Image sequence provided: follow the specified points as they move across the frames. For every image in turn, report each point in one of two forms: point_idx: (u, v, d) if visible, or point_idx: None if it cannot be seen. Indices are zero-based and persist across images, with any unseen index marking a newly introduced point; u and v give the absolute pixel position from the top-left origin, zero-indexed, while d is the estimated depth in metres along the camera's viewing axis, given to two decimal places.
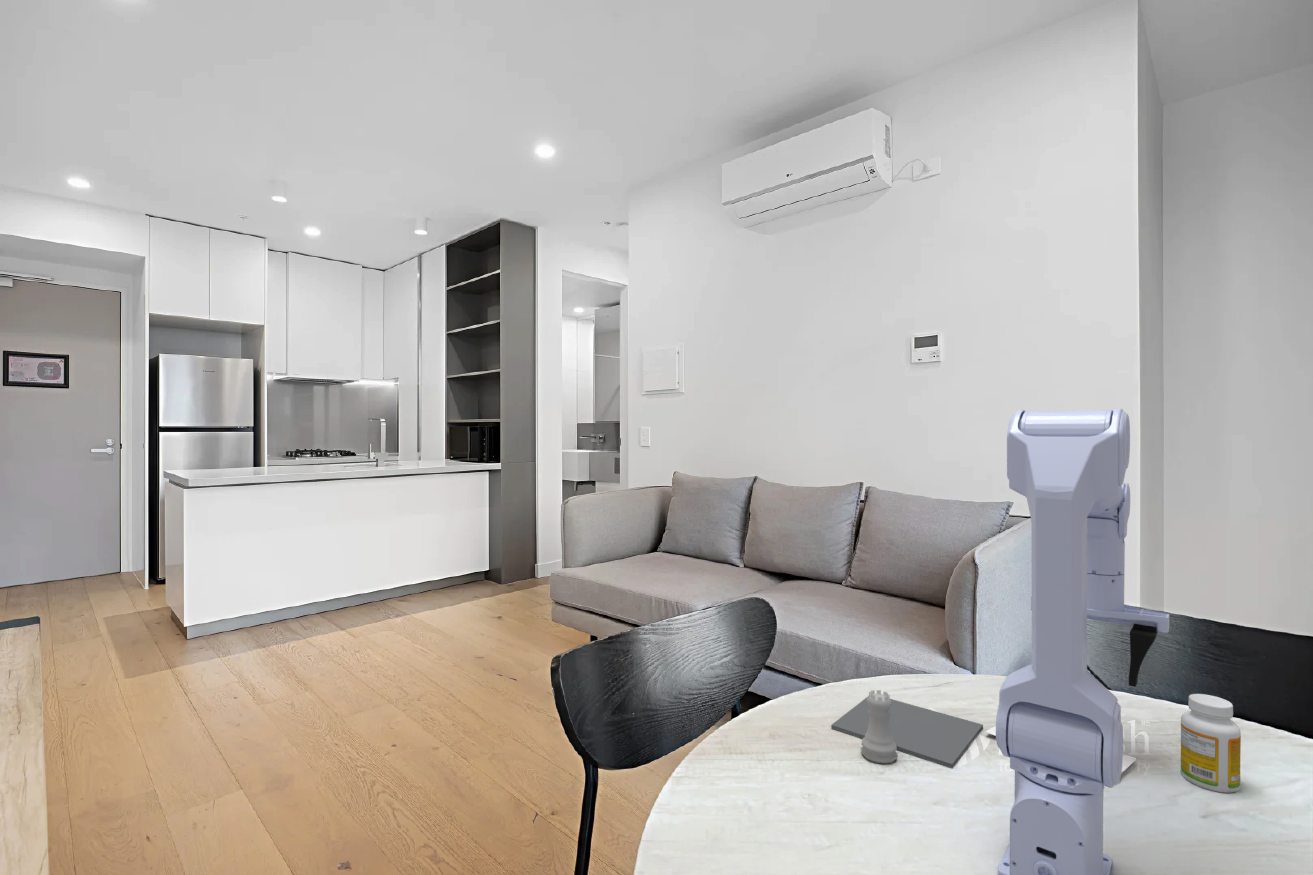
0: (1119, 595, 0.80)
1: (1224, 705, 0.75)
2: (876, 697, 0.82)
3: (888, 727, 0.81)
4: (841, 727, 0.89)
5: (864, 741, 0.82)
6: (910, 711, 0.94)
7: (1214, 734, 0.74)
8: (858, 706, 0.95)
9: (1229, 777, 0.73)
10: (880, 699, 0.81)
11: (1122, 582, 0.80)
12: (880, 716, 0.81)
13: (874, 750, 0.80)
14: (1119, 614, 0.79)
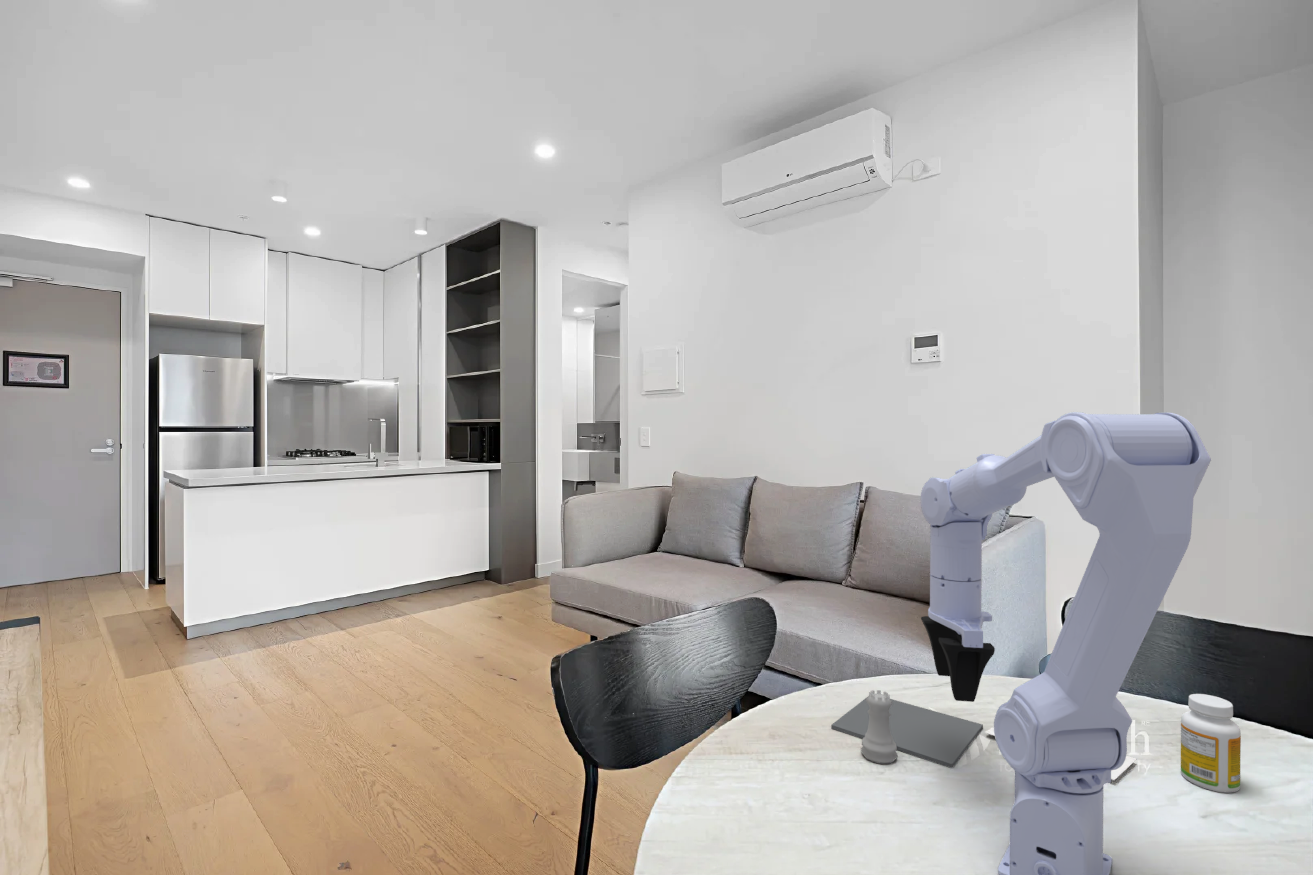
0: (949, 601, 0.76)
1: (1224, 705, 0.75)
2: (876, 697, 0.82)
3: (888, 727, 0.81)
4: (841, 727, 0.89)
5: (864, 741, 0.82)
6: (910, 711, 0.94)
7: (1214, 734, 0.74)
8: (858, 706, 0.95)
9: (1229, 777, 0.73)
10: (880, 699, 0.81)
11: (955, 589, 0.76)
12: (880, 716, 0.81)
13: (874, 750, 0.80)
14: (941, 619, 0.76)
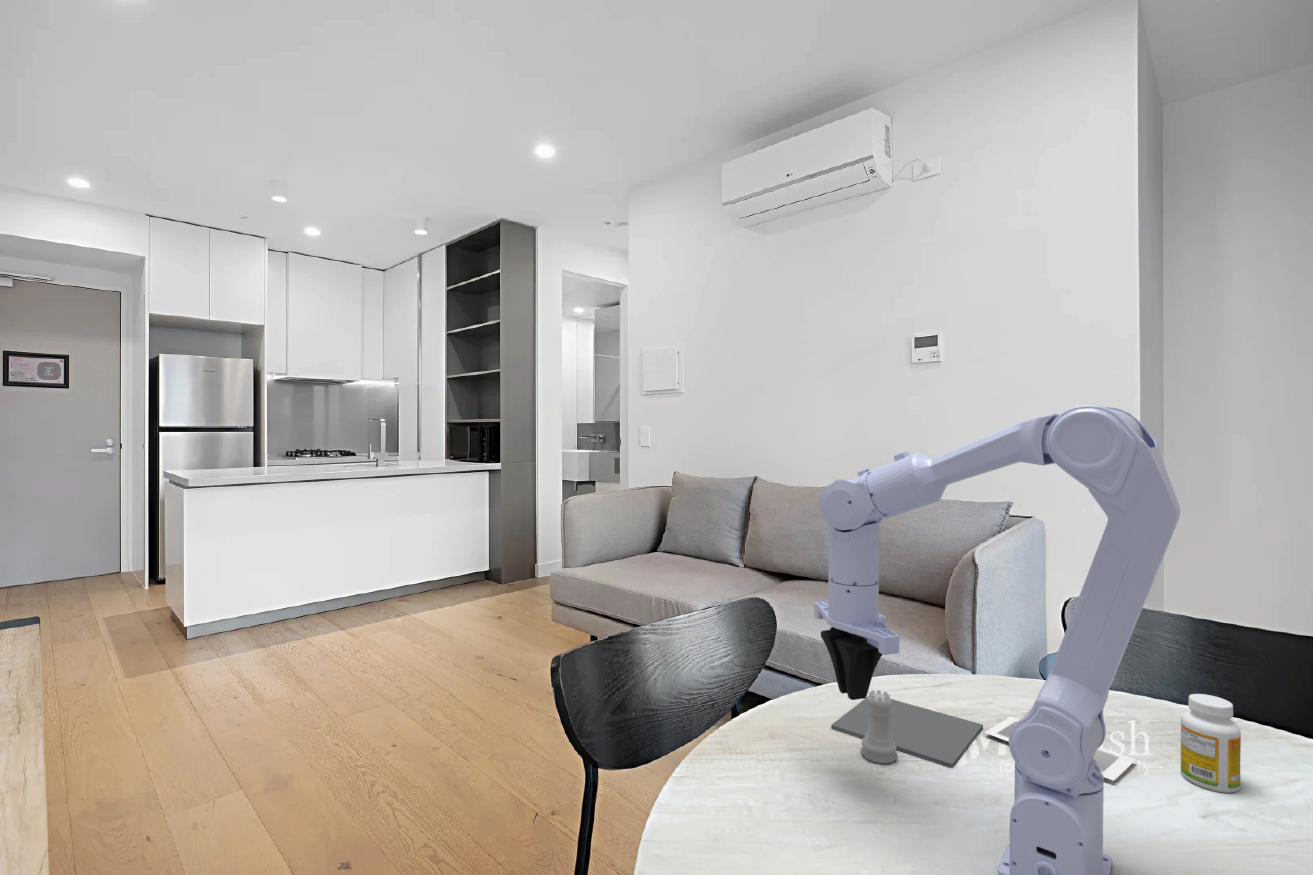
0: (856, 608, 0.73)
1: (1224, 705, 0.75)
2: (876, 697, 0.82)
3: (888, 727, 0.81)
4: (841, 727, 0.89)
5: (864, 741, 0.82)
6: (910, 711, 0.94)
7: (1214, 734, 0.74)
8: (858, 706, 0.95)
9: (1229, 777, 0.73)
10: (880, 699, 0.81)
11: (861, 594, 0.73)
12: (880, 716, 0.81)
13: (874, 750, 0.80)
14: (848, 627, 0.73)
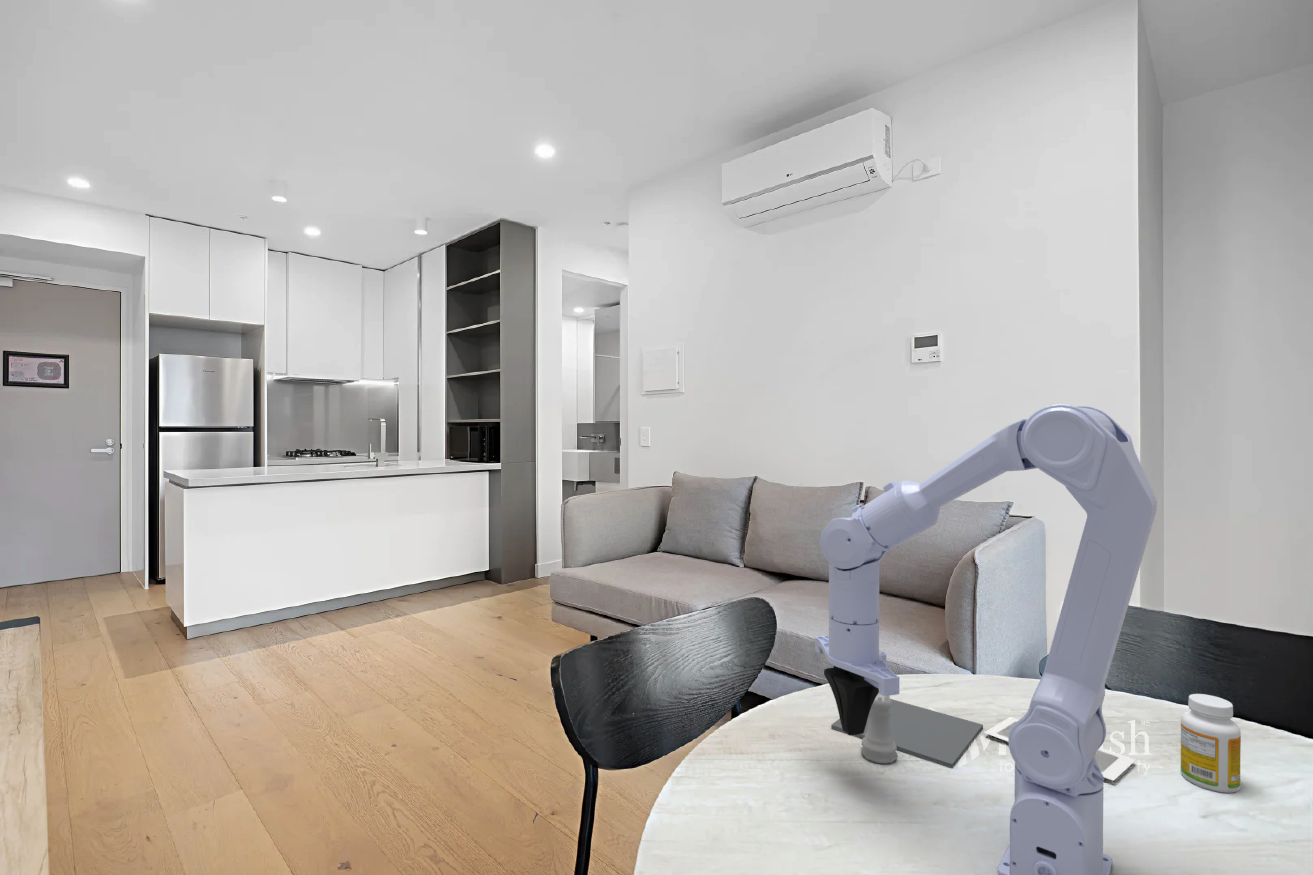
0: (856, 646, 0.73)
1: (1224, 705, 0.75)
2: (876, 697, 0.82)
3: (888, 727, 0.81)
4: (841, 727, 0.89)
5: (864, 741, 0.82)
6: (910, 711, 0.94)
7: (1214, 734, 0.74)
8: None
9: (1229, 777, 0.73)
10: (880, 699, 0.81)
11: (861, 633, 0.73)
12: (880, 716, 0.81)
13: (874, 750, 0.80)
14: (849, 666, 0.73)
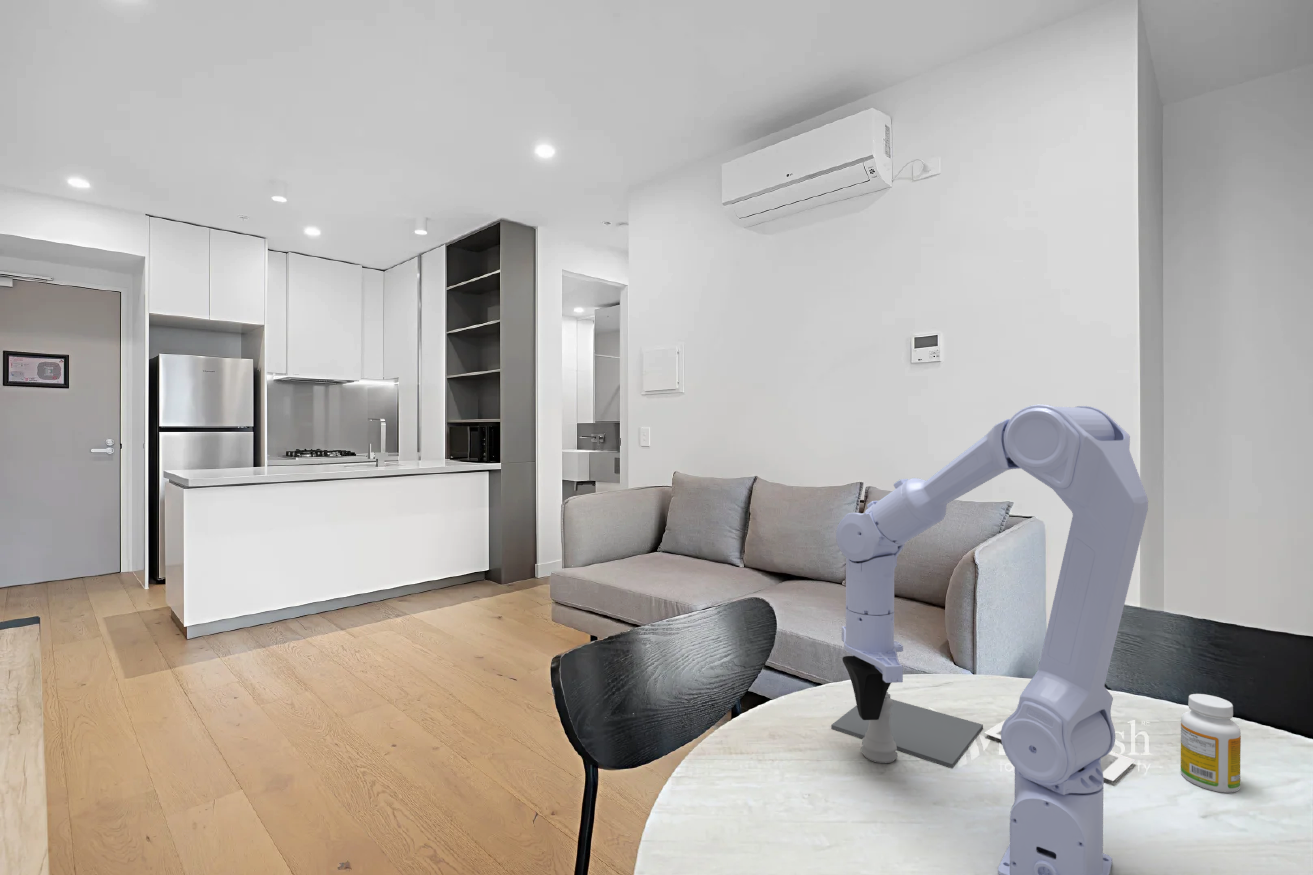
0: (867, 635, 0.77)
1: (1224, 705, 0.75)
2: None
3: (888, 727, 0.81)
4: (841, 727, 0.89)
5: (864, 740, 0.82)
6: (910, 711, 0.94)
7: (1214, 734, 0.74)
8: None
9: (1229, 777, 0.73)
10: None
11: (872, 623, 0.77)
12: (880, 716, 0.81)
13: (874, 749, 0.80)
14: (859, 653, 0.77)
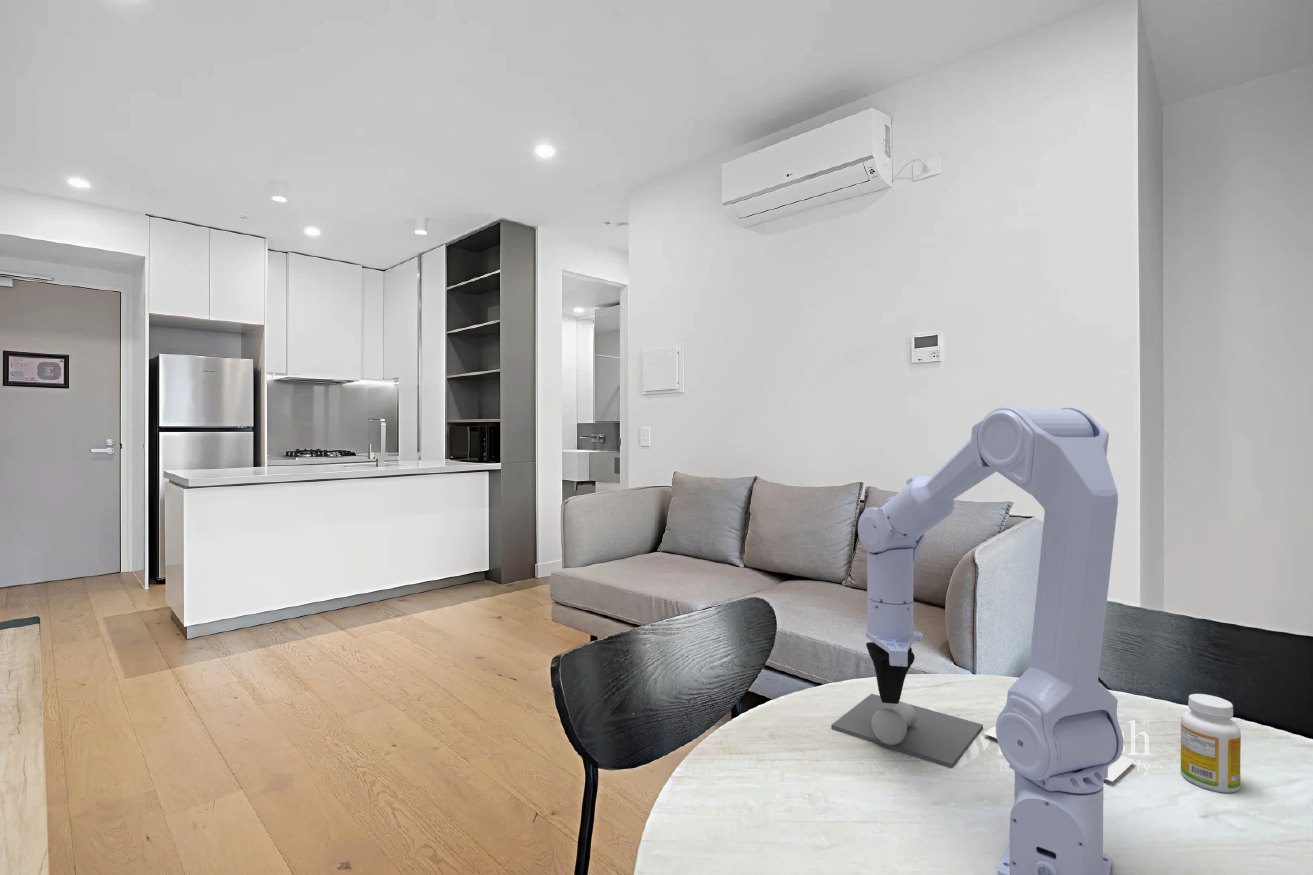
0: (882, 622, 0.82)
1: (1224, 705, 0.75)
2: None
3: (906, 722, 0.86)
4: (841, 727, 0.89)
5: None
6: None
7: (1214, 733, 0.74)
8: (858, 706, 0.95)
9: (1229, 777, 0.73)
10: None
11: (887, 611, 0.82)
12: (906, 709, 0.88)
13: (894, 709, 0.85)
14: (874, 639, 0.82)
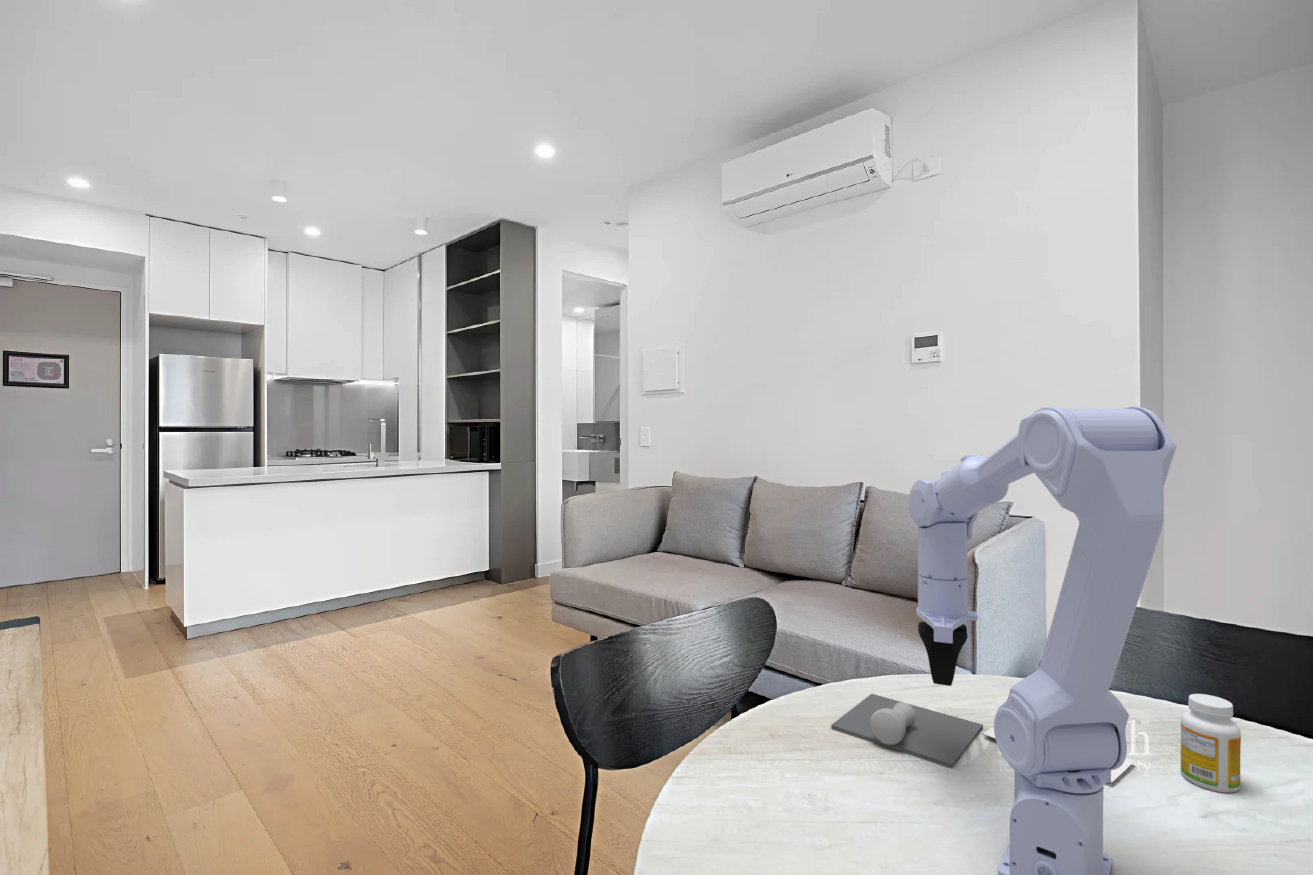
0: (931, 599, 0.79)
1: (1224, 705, 0.75)
2: None
3: (905, 721, 0.86)
4: (841, 727, 0.89)
5: None
6: None
7: (1214, 734, 0.74)
8: (858, 706, 0.95)
9: (1229, 777, 0.73)
10: (910, 706, 0.89)
11: (936, 587, 0.79)
12: (905, 709, 0.88)
13: (892, 709, 0.85)
14: (922, 615, 0.79)
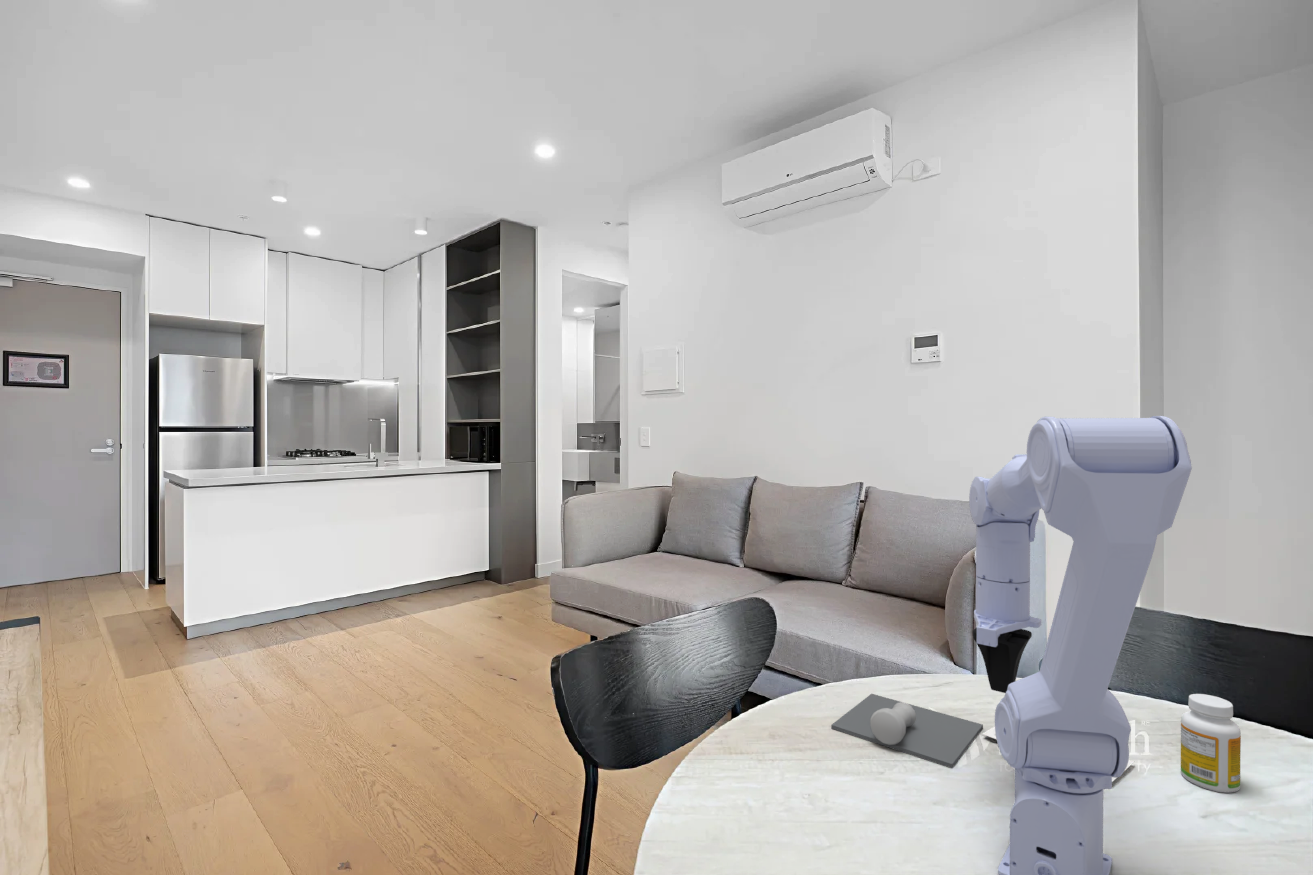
0: (985, 600, 0.76)
1: (1224, 705, 0.75)
2: None
3: (905, 721, 0.86)
4: (841, 727, 0.89)
5: None
6: None
7: (1214, 733, 0.74)
8: (858, 706, 0.95)
9: (1229, 777, 0.73)
10: (910, 706, 0.89)
11: (989, 589, 0.75)
12: (904, 709, 0.88)
13: (892, 709, 0.85)
14: (975, 617, 0.77)
